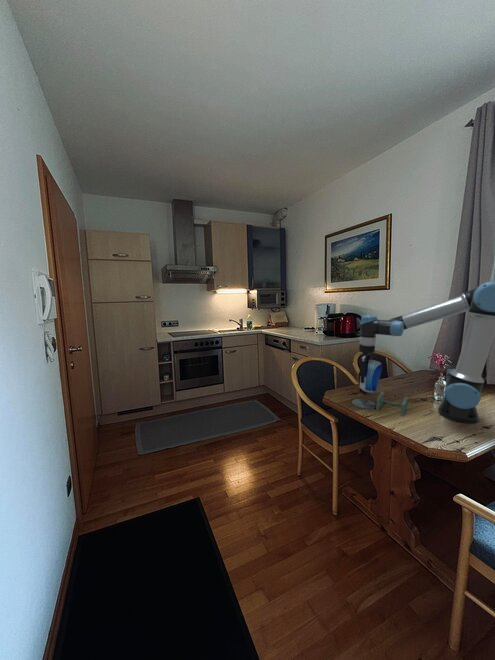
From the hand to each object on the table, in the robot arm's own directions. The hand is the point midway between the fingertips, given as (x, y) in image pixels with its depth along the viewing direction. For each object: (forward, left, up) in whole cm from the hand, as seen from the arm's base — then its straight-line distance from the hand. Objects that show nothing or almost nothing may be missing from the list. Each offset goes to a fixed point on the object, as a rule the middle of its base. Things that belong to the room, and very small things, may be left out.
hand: (364, 385), depth 139 cm
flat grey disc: (0, 0, -10) cm, 10 cm away
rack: (-13, -3, -10) cm, 17 cm away
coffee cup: (+4, -19, -11) cm, 22 cm away
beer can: (-2, 0, -2) cm, 3 cm away
